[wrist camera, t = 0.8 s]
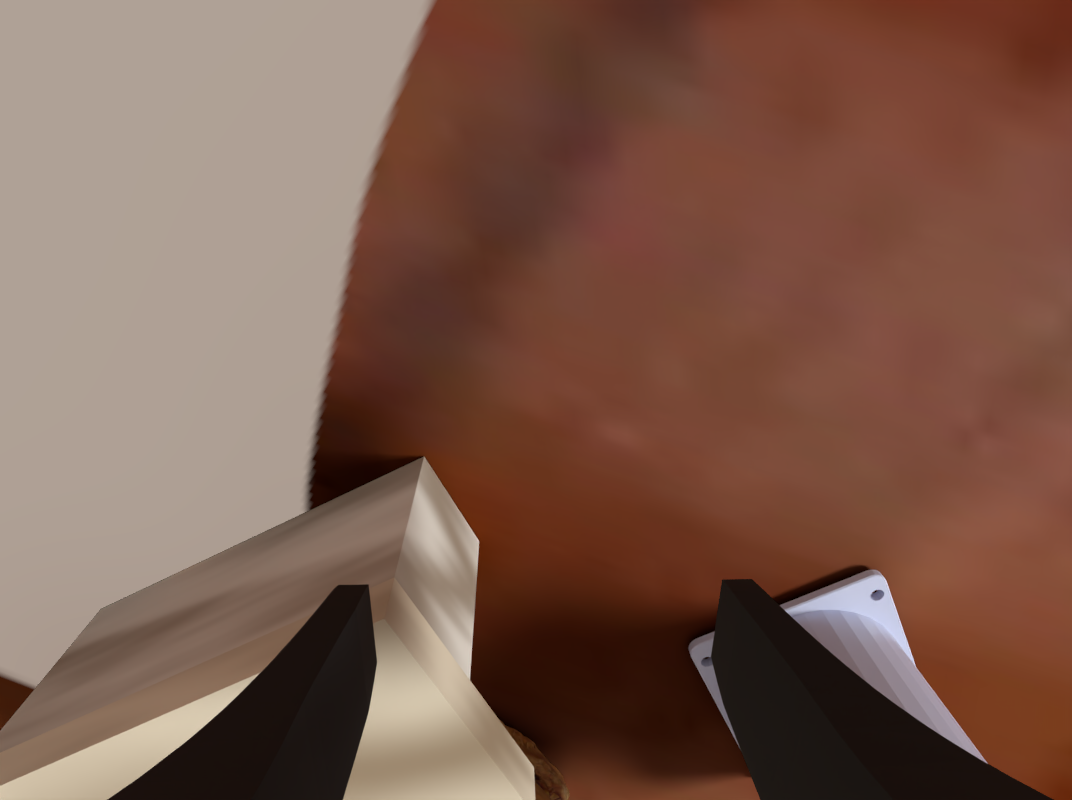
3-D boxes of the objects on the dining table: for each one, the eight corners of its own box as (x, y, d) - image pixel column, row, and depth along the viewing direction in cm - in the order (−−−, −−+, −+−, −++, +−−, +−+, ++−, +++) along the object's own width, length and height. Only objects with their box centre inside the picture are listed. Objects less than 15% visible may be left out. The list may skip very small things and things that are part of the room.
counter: (528, 616, 26) (536, 816, 18) (231, 740, 28) (132, 965, 20) (424, 456, 23) (384, 618, 15) (100, 609, 25) (-71, 816, 17)
